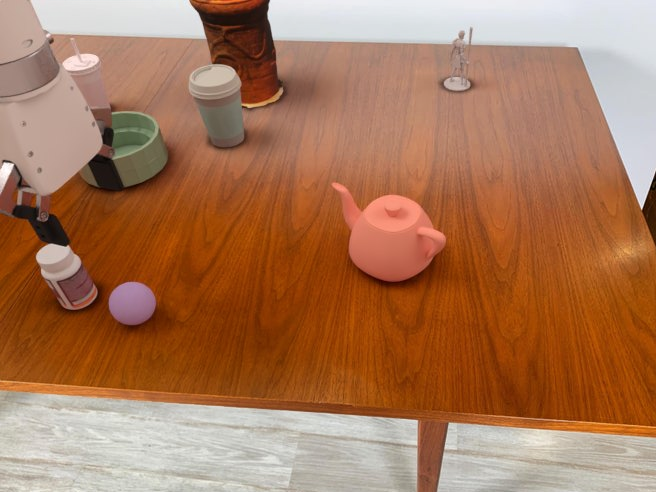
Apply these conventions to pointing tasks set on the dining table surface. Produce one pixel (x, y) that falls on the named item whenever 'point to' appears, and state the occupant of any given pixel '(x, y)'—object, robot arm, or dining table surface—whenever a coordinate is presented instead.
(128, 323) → the ball
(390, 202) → the teapot
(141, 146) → the bowl
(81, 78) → the smoothie
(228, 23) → the vessel
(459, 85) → the figurine
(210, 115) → the coffee cup
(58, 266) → the pill bottle
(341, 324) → the dining table surface
